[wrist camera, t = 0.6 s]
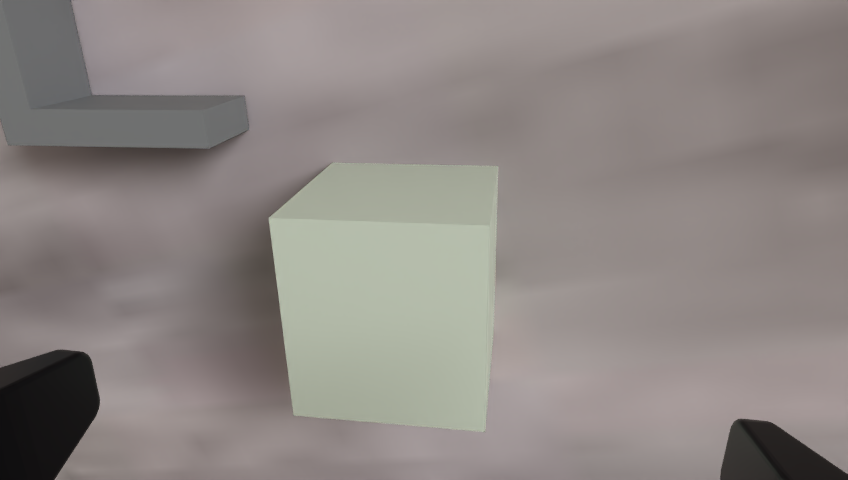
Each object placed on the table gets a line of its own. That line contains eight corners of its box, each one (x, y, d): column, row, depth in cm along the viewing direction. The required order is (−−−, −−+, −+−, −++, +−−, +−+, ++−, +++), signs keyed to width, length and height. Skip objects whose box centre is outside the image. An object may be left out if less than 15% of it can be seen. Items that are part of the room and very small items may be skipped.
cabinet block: (493, 345, 20) (484, 450, 15) (346, 335, 20) (296, 434, 16) (498, 165, 17) (489, 225, 13) (332, 162, 18) (268, 218, 14)
